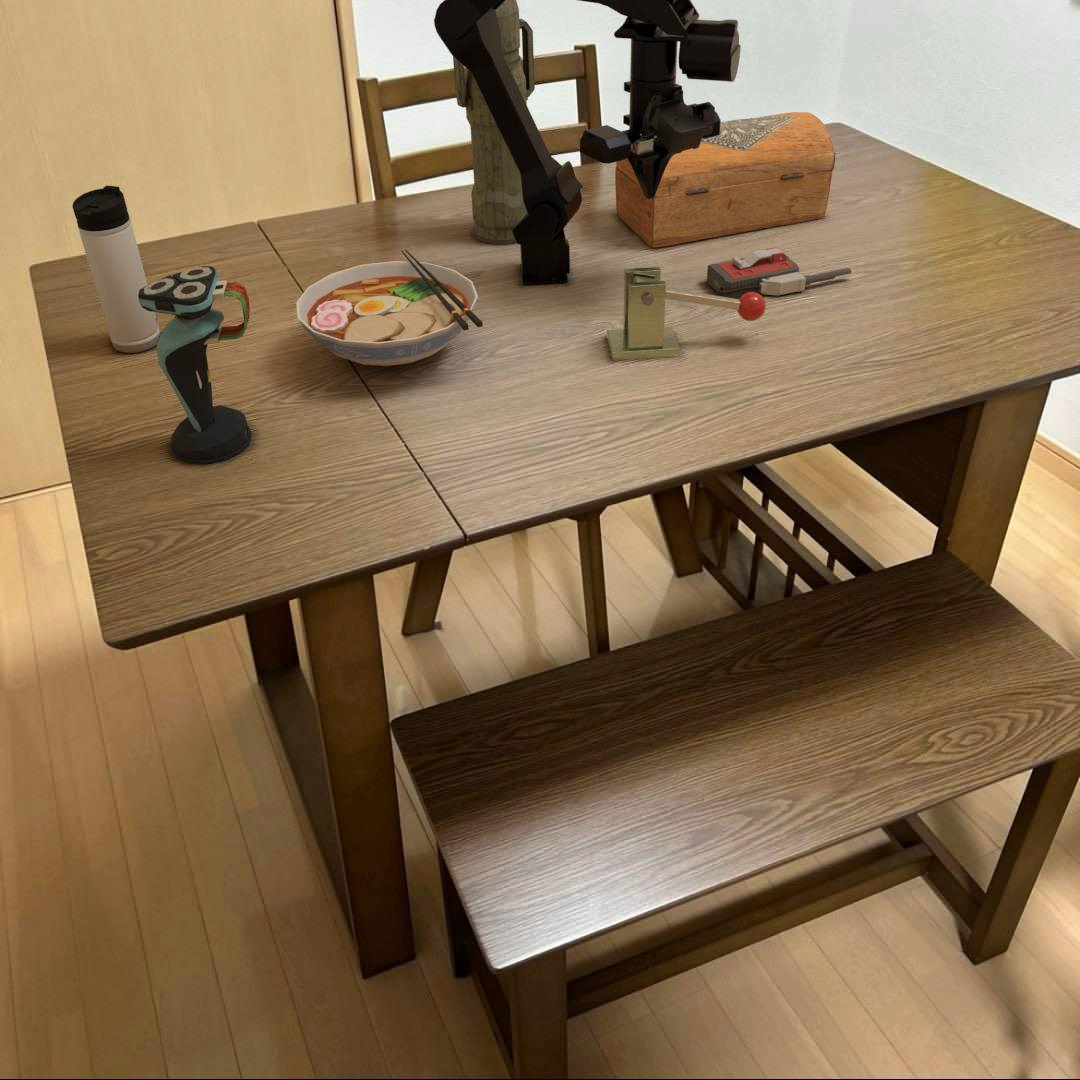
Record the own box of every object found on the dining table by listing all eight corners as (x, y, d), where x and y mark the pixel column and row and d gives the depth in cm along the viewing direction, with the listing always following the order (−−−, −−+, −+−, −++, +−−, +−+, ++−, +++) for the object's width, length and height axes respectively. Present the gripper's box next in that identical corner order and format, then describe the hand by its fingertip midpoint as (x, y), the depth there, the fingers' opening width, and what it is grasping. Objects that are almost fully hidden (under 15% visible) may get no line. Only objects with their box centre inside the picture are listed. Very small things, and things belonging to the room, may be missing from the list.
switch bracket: (671, 334, 147) (675, 264, 141) (679, 356, 142) (683, 285, 136) (606, 338, 147) (607, 268, 141) (612, 360, 142) (613, 289, 136)
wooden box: (778, 183, 187) (787, 97, 179) (829, 219, 175) (841, 129, 166) (610, 211, 180) (610, 123, 171) (651, 250, 168) (654, 158, 159)
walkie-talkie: (726, 309, 152) (853, 283, 157) (728, 279, 149) (858, 253, 155) (696, 283, 158) (819, 259, 164) (698, 254, 156) (823, 229, 161)
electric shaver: (178, 423, 133) (136, 265, 121) (278, 416, 134) (247, 258, 121) (164, 467, 126) (118, 303, 114) (270, 459, 127) (236, 296, 114)
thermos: (551, 232, 174) (545, -15, 152) (486, 252, 169) (470, -1, 147) (519, 214, 180) (509, -26, 158) (455, 233, 175) (436, -13, 153)
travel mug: (172, 333, 151) (135, 187, 139) (143, 356, 146) (102, 207, 134) (133, 327, 153) (92, 182, 141) (103, 350, 148) (58, 202, 136)
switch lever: (757, 314, 145) (765, 289, 143) (763, 327, 142) (772, 302, 140) (628, 295, 142) (635, 268, 140) (632, 307, 139) (639, 281, 137)
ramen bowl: (283, 329, 151) (273, 272, 146) (444, 295, 158) (439, 239, 153) (332, 418, 133) (322, 357, 128) (511, 375, 140) (508, 315, 135)
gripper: (630, 106, 131) (627, 234, 141) (753, 77, 139) (743, 200, 148) (577, 83, 139) (578, 206, 148) (696, 57, 146) (690, 175, 156)
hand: (649, 197), depth 150 cm, fingers closed
